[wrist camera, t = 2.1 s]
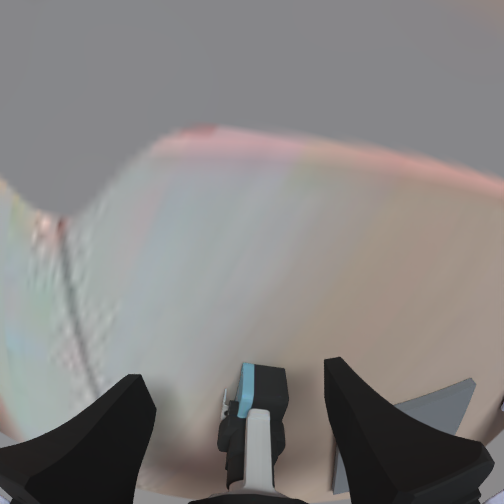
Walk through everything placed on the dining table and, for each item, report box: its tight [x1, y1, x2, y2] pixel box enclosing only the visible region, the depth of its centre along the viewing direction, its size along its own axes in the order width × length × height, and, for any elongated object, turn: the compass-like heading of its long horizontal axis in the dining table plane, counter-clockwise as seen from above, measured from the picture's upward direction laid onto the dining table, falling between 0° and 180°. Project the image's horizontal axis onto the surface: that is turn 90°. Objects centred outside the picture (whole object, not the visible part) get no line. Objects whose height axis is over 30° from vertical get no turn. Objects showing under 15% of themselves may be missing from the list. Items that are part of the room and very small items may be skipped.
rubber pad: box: [332, 378, 476, 495], centre depth 16 cm, size 10×10×1 cm
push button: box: [188, 363, 308, 504], centre depth 10 cm, size 7×5×10 cm
